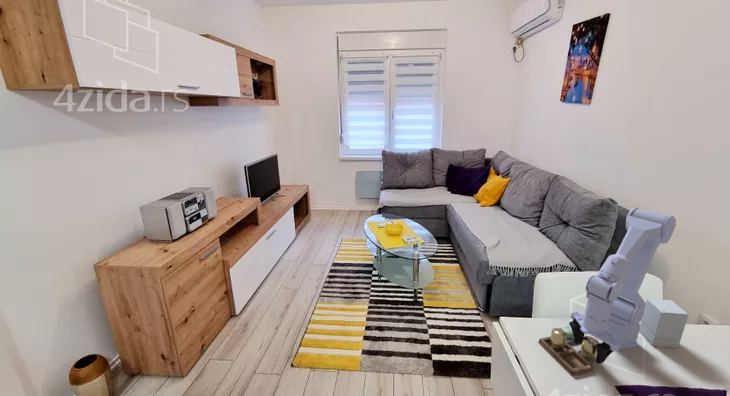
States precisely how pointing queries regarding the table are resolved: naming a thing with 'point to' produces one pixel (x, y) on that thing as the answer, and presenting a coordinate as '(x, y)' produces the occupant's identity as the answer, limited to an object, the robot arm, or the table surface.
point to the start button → (568, 333)
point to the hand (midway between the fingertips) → (588, 352)
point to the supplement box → (663, 323)
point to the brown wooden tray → (568, 358)
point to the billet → (589, 348)
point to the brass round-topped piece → (558, 339)
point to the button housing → (569, 339)
